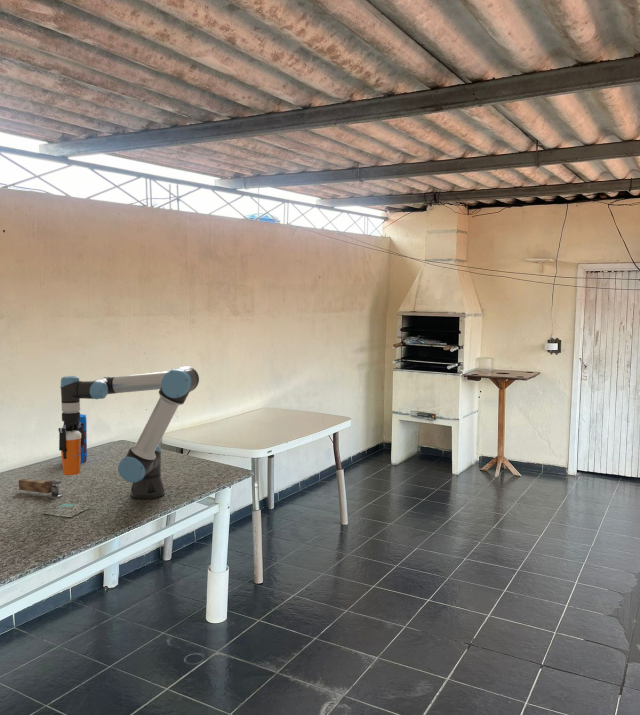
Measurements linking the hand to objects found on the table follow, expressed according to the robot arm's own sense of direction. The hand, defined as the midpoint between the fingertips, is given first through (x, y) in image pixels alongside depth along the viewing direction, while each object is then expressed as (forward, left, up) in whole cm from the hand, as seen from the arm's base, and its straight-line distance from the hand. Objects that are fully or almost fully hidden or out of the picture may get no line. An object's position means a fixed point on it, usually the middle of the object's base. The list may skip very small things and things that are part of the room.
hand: (72, 463), depth 279 cm
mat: (-8, +13, -16) cm, 22 cm away
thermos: (+41, -54, -17) cm, 70 cm away
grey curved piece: (+10, -1, -16) cm, 19 cm away
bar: (+18, -1, -15) cm, 24 cm away
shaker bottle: (0, +1, -4) cm, 4 cm away
